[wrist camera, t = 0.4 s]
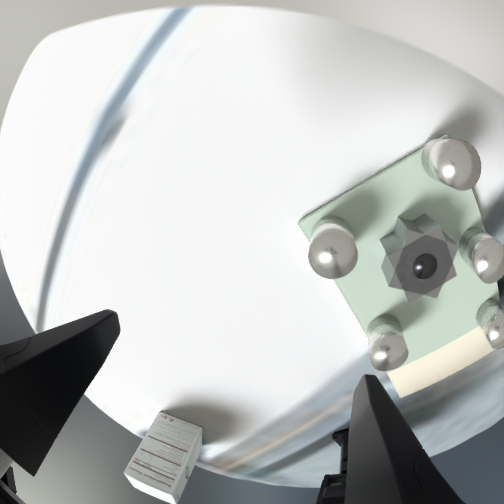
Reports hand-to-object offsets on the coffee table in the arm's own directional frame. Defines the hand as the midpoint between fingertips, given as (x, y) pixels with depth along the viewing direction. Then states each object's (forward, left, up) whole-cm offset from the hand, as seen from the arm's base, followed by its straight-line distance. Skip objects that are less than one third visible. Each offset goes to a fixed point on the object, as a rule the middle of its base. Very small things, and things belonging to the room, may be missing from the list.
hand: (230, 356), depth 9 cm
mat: (-11, -8, -14) cm, 19 cm away
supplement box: (-19, +31, -14) cm, 39 cm away
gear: (-6, -8, -13) cm, 16 cm away
